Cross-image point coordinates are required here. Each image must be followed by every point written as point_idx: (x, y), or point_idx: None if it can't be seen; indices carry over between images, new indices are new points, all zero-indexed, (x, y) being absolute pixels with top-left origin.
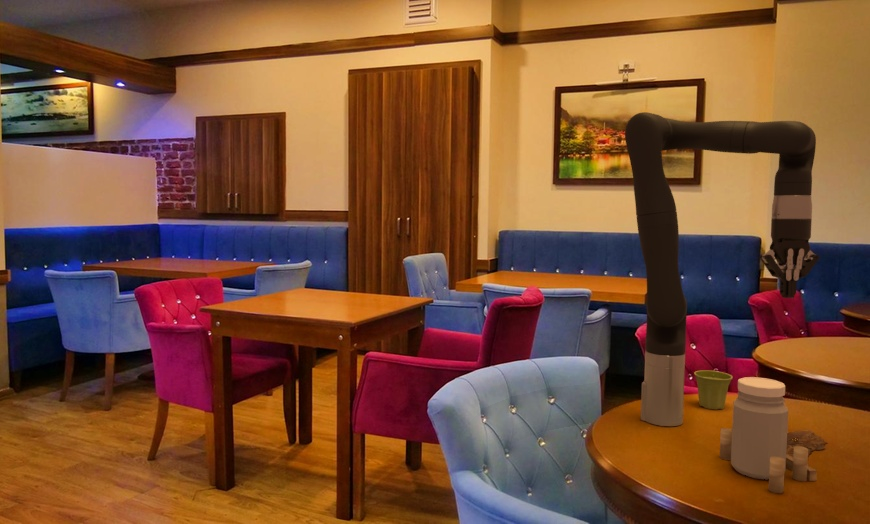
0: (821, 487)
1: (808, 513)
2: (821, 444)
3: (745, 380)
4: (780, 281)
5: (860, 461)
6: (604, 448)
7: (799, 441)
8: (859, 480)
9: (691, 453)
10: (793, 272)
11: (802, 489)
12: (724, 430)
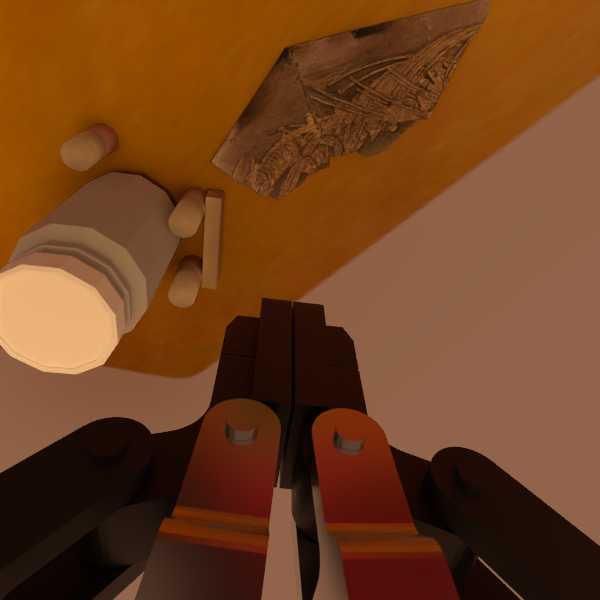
0: (206, 301)
1: (115, 361)
2: (399, 128)
3: (11, 292)
4: (211, 405)
5: (391, 227)
6: None
7: (364, 94)
8: (299, 294)
9: (28, 87)
10: (299, 583)
11: (166, 300)
12: (66, 158)
